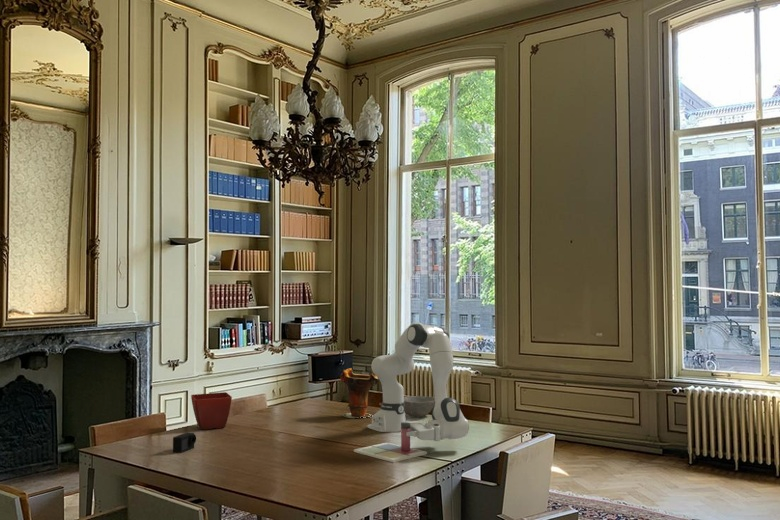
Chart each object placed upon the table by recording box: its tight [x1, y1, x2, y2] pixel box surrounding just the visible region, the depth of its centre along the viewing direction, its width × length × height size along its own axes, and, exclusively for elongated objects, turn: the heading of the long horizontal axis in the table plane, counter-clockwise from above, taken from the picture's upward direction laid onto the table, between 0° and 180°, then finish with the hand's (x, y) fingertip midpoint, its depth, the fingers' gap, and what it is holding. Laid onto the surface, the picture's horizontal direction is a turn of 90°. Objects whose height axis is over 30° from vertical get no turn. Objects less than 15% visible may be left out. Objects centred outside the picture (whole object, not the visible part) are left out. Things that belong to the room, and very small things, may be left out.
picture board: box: [353, 442, 428, 463], centre depth 282 cm, size 26×20×1 cm
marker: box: [400, 421, 411, 452], centre depth 282 cm, size 4×4×12 cm
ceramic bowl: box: [404, 395, 434, 418], centre depth 371 cm, size 22×23×10 cm
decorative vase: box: [339, 367, 379, 419], centre depth 373 cm, size 20×22×27 cm
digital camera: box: [172, 432, 197, 454], centre depth 291 cm, size 10×5×7 cm, turn 163°
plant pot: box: [190, 391, 233, 430], centre depth 344 cm, size 19×19×17 cm
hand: (403, 431), depth 282 cm, fingers open, 8 cm apart
